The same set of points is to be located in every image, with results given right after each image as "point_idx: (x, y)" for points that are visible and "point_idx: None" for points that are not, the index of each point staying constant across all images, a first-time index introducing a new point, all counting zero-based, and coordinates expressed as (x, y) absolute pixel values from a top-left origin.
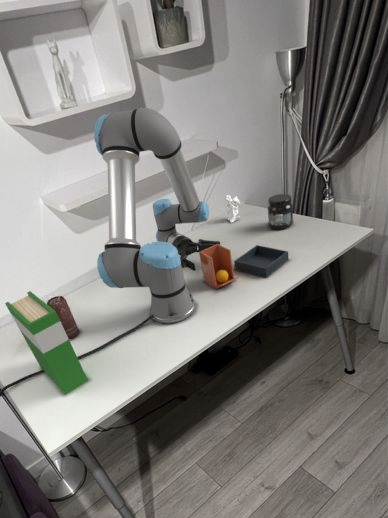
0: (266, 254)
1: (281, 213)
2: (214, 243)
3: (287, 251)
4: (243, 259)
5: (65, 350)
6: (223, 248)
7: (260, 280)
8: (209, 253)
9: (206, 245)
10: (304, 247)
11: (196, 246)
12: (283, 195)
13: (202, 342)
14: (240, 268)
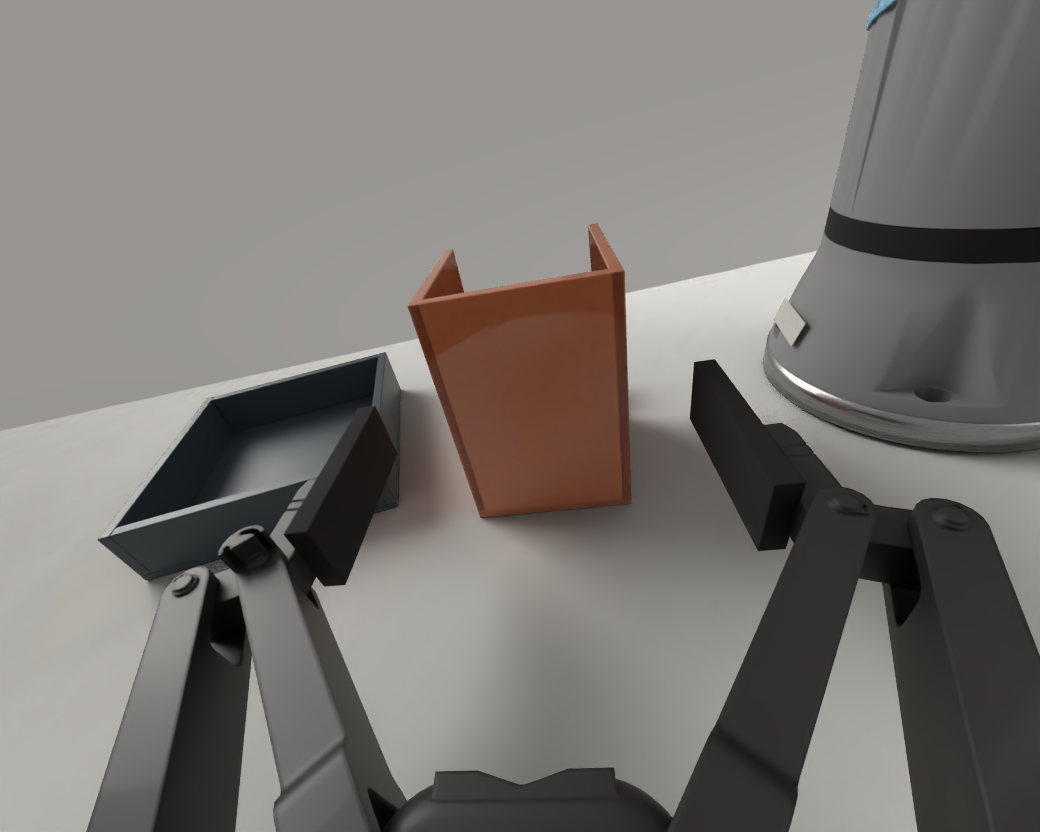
0: (184, 507)
1: None
2: (209, 627)
3: (207, 399)
4: None
5: None
6: (443, 276)
7: (428, 386)
8: (527, 330)
9: (311, 638)
10: (87, 475)
11: (383, 828)
12: None
13: (776, 265)
14: (393, 464)
